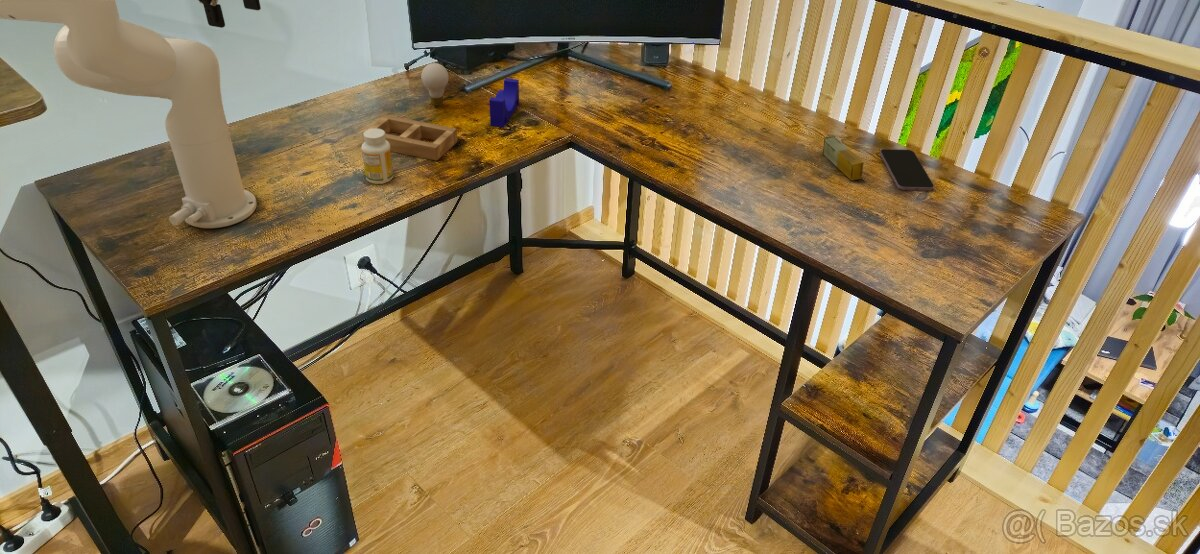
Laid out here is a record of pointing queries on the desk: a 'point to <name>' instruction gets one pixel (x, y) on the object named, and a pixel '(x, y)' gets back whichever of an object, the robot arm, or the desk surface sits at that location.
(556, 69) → the desk surface
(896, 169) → the smartphone
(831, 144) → the medication box
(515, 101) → the cable clip
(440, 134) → the caddy
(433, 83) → the light bulb
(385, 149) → the supplement bottle
